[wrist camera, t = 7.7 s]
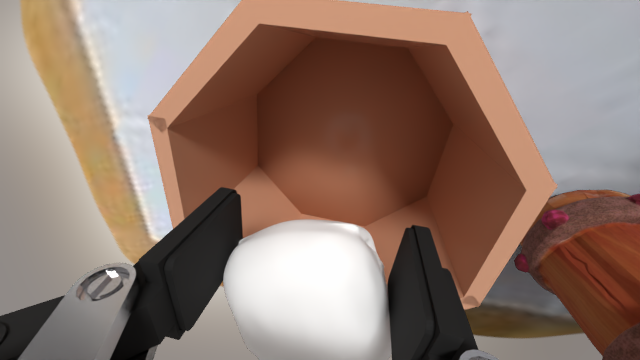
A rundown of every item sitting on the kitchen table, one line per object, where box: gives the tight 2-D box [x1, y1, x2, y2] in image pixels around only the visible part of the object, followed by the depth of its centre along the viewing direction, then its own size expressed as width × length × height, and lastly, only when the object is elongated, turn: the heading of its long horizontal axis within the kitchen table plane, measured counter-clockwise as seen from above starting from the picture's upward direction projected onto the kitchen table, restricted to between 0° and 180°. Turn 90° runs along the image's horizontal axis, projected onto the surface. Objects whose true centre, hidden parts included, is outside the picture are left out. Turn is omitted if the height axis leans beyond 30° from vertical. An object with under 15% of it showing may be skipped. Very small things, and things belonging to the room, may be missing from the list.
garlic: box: [223, 219, 392, 360], centre depth 10 cm, size 8×7×4 cm
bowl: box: [148, 0, 557, 310], centre depth 15 cm, size 16×16×10 cm
